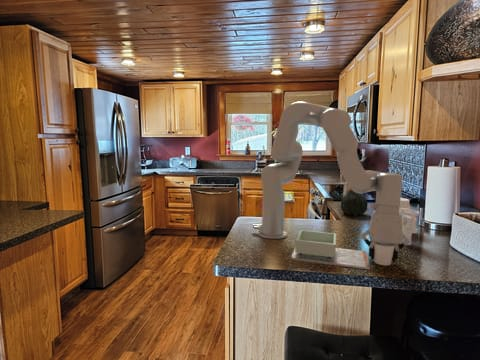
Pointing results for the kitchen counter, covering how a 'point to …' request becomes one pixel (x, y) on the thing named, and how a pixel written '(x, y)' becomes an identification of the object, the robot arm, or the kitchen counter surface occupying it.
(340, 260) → the white flat board
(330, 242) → the pale green open box
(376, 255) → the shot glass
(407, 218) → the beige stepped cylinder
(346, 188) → the candy box
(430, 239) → the kitchen counter surface
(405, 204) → the jar
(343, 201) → the squash
